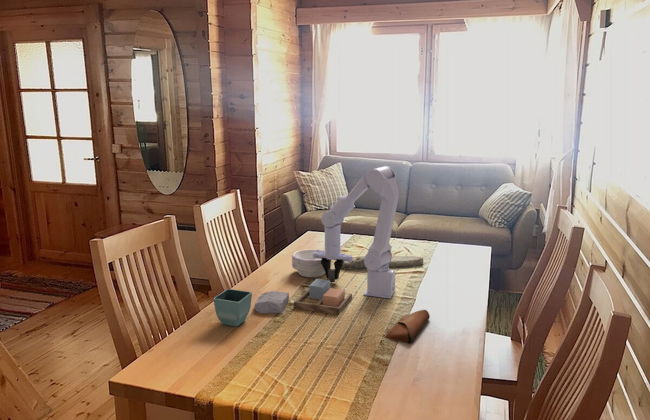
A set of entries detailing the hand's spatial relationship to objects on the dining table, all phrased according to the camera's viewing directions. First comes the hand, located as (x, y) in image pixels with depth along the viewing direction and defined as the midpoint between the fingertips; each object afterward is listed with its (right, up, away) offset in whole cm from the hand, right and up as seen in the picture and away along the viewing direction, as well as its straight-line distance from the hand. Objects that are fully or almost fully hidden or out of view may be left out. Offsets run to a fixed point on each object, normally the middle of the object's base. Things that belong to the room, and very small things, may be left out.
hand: (332, 278), depth 190 cm
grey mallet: (-3, -3, -7) cm, 8 cm away
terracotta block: (0, -6, -20) cm, 21 cm away
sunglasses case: (+22, -11, -37) cm, 45 cm away
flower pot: (-30, -9, -33) cm, 46 cm away
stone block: (-20, -7, -20) cm, 30 cm away
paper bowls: (-8, 0, +10) cm, 13 cm away
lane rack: (-3, -6, -19) cm, 20 cm away
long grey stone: (+20, +2, +19) cm, 28 cm away
